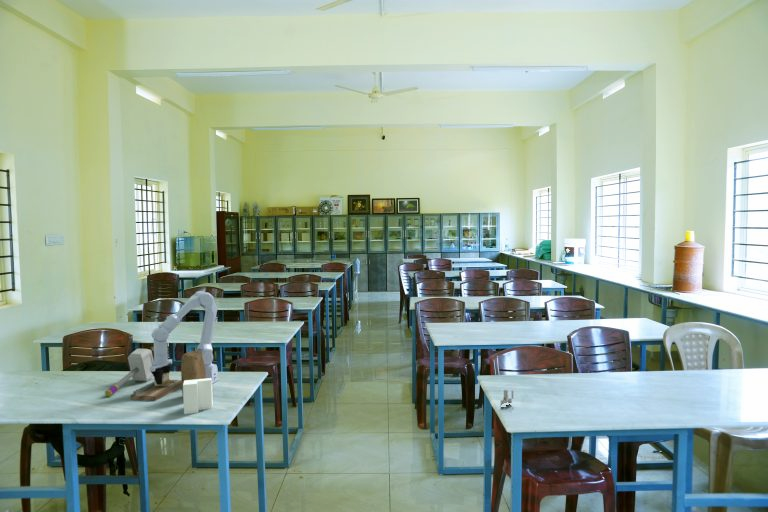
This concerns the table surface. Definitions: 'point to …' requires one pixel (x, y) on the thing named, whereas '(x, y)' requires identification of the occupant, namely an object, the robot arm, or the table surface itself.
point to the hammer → (136, 369)
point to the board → (155, 391)
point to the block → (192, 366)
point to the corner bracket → (197, 395)
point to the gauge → (164, 380)
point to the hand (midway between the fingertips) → (162, 382)
